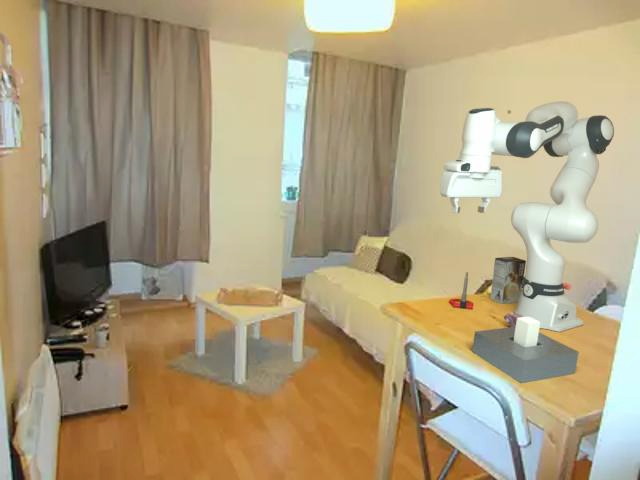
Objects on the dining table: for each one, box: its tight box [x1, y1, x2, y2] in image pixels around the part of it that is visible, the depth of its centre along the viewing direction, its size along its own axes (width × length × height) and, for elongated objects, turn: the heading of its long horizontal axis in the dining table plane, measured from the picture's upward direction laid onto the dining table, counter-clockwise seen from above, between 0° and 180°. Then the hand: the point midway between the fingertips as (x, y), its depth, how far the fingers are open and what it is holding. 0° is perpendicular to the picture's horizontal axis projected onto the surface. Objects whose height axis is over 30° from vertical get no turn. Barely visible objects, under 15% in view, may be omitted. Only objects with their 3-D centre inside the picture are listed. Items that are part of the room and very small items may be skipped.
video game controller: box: [503, 311, 523, 327], centre depth 150 cm, size 10×5×7 cm, turn 24°
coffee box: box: [489, 256, 527, 305], centre depth 179 cm, size 9×6×16 cm
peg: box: [514, 317, 541, 347], centre depth 127 cm, size 4×4×12 cm
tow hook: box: [448, 271, 474, 310], centre depth 172 cm, size 8×13×9 cm
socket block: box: [471, 326, 580, 384], centre depth 128 cm, size 18×18×6 cm
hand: (468, 212), depth 142 cm, fingers open, 8 cm apart
